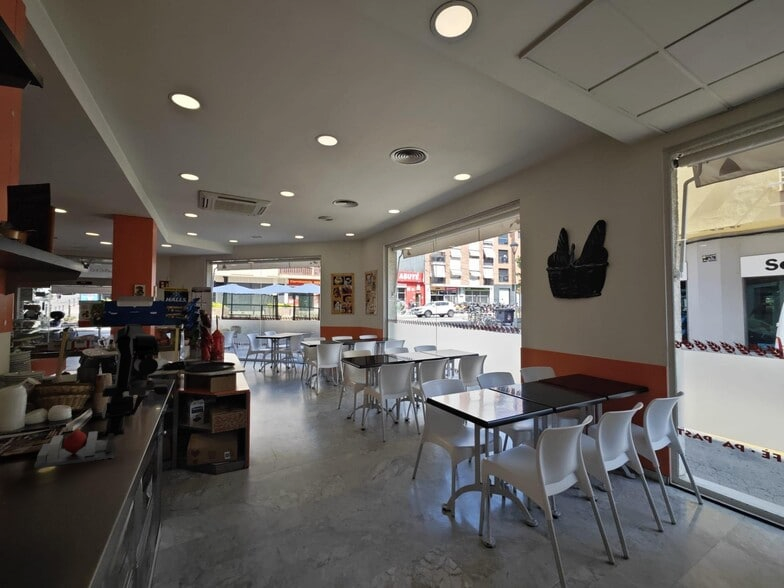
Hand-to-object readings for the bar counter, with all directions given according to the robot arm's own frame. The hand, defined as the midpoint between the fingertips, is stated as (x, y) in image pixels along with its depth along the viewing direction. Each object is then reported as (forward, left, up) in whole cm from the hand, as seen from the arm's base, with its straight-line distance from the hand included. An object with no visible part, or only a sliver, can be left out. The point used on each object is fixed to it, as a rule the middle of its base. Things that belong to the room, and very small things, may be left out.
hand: (132, 414), depth 124 cm
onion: (0, -14, -12) cm, 18 cm away
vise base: (0, -13, -12) cm, 18 cm away
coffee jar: (-48, -3, -13) cm, 50 cm away
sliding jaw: (0, -8, -11) cm, 14 cm away
